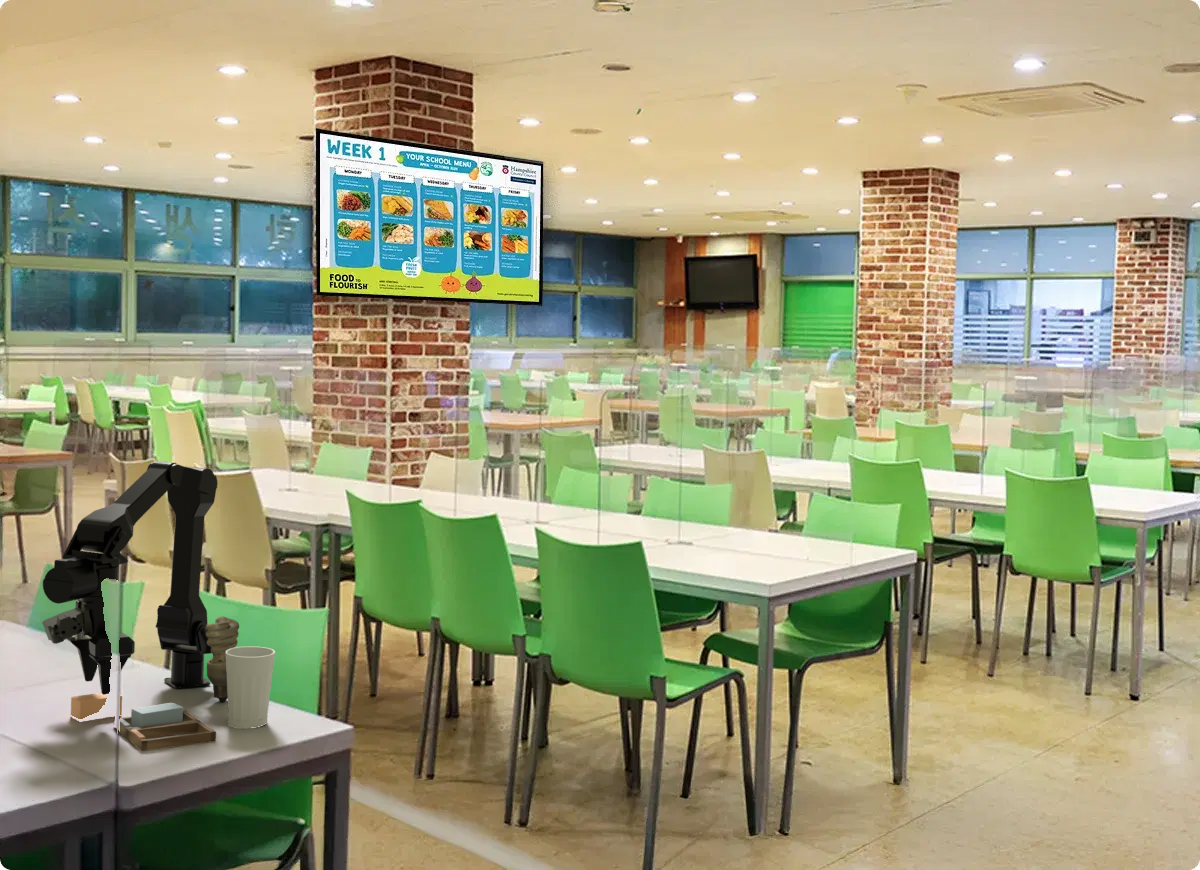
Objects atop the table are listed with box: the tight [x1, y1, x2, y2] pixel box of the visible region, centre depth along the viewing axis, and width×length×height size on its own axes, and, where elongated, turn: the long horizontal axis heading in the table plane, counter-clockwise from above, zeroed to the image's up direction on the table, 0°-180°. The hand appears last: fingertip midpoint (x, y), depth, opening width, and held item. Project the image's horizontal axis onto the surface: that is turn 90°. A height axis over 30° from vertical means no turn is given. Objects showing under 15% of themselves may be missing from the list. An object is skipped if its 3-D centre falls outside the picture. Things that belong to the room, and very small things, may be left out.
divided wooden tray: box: [119, 709, 217, 752], centre depth 214 cm, size 14×12×2 cm
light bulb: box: [206, 615, 240, 703], centre depth 235 cm, size 6×6×15 cm
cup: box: [225, 645, 276, 729], centre depth 222 cm, size 8×8×12 cm
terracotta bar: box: [70, 692, 123, 719], centre depth 222 cm, size 4×7×4 cm, turn 134°
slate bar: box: [130, 702, 184, 728], centre depth 217 cm, size 4×7×4 cm, turn 135°
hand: (96, 687), depth 221 cm, fingers open, 9 cm apart
